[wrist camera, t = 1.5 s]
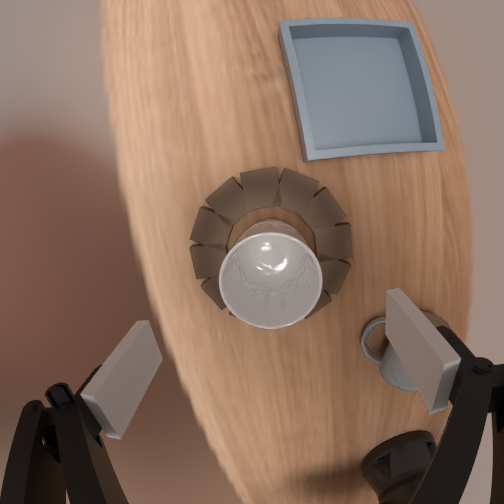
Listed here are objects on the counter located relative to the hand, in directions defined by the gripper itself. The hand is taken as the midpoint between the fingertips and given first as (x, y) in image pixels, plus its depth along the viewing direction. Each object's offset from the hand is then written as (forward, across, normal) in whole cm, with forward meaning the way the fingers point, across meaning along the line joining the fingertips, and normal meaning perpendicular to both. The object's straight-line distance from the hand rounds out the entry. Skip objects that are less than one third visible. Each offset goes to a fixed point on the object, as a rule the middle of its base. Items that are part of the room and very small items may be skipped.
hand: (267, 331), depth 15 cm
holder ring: (+17, 0, 0) cm, 17 cm away
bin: (+17, -12, -16) cm, 26 cm away
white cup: (+18, 0, 0) cm, 18 cm away
